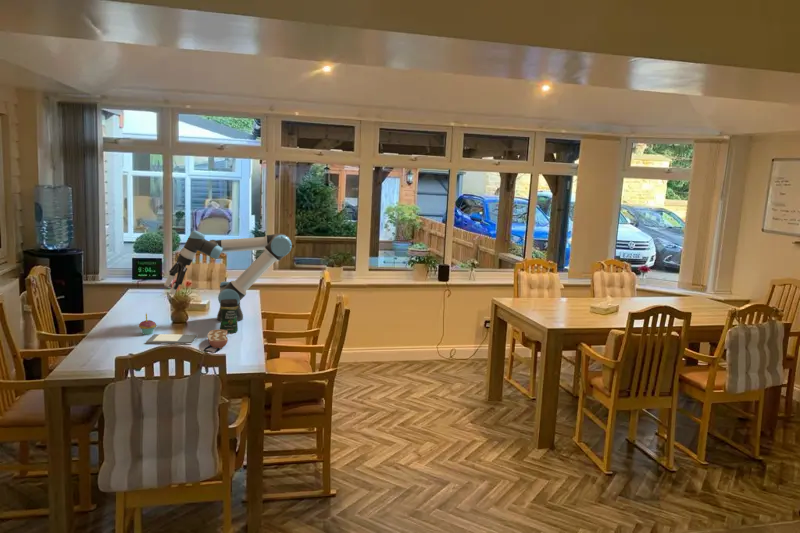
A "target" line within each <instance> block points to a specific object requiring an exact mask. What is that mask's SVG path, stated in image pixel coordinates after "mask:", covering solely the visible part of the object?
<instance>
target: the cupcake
mask: <svg viewBox="0 0 800 533" xmlns="http://www.w3.org/2000/svg"><path fill="white" fill-rule="evenodd" d="M138 327H139V328H140V330H141V332H142V334H143V335H152V334H153V332H154V331H155V328H156V327H157V323H156V322H155V321H153V320H150V319H148V314H147V313H145V320H143V321H140V323H139V324H138Z"/></svg>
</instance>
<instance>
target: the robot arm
mask: <svg viewBox="0 0 800 533" xmlns="http://www.w3.org/2000/svg"><path fill="white" fill-rule="evenodd" d="M205 237H206V236H205V234H204V233H201V232H200V231H197V230H192V231H191V232H190V234H189V236H188V238H187V240H186V242H185V243H184V246H183V247H182V248H181V251H180V254H179V255H178V256H177V260H176V262H175V263H174V265H173V266H172V267H171V269H170V270H169V271H168V272H169V273H168V274H169V275H168V276H167V278H166V280H165V282H164V284H163V285H164V286H165V287H167V288H168V287H170V285H171V283H172V282H173V279H174V278H175V277H176V279H175V281H174V282H173V284H172V287H171V289H170V290H169V292H168V293H169V294H171V295H173V296H175V294H176V292H177V290H178V288H179V287H180V286H182V284H183V281H184V280H185V279H184V278H185V276H186V272H187V271H188V267H187V266H190V265H191V264H192V262H193V259H194V258H195V256H196V255H197V252H199V253H202V254H204V255H206V256H209V257H210V258H213V259H215V260H218V259H219V257H220V256H221V253H231V252H247V251H249V252H250V251H260V250H261V251H262V253H261V254H260V255H259V256H258V257H257V258H256V259H255V260H253V262H252V263H251V264H250V265H249V266H248V267H247V268H246V269H245V270H244V271H242V273H241V274H240V275H239V276H238V277H237V278H236V279H235V280H230V281H221V282H220V283H219V294H218V297H217V298H218V303H219V305H220V304H221V300H223V299H236V300H237V303H238V309H237V322H239V321H242V320H244V314H243V311H242V308H241V301H242V299H243V298H245V296H246V295H247V291H248V290H249V288H251V286H252V285H254V284H255V282H256V281H257V280H259V279H260V278H261V277H262V275H263V274H264V273H265V272H267V271H268V269H269V268H270V267H272V266H273V264H274V263H276V262H280V261H281V260H282V259H284V257H286V256H287V255H288V254H290V252H291V250H292V247H293V246H292V245H293V244H292V243H293V242H292V240H291V239H290V237H289V236H288V235H287V234H285V233H281V232H279V233H275V234H266V235H265V236H260V237H246V238H245V237H243V238H231V239H230V238H229V239H210V240H207V239H205ZM263 250H264V251H263ZM176 274H177V276H176ZM216 320H217V321H219V322H221V308H220V307H219V309H218V312H217V314H216Z"/></svg>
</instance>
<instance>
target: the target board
mask: <svg viewBox="0 0 800 533" xmlns="http://www.w3.org/2000/svg"><path fill="white" fill-rule="evenodd" d="M197 337H198V335H197V334H181V333H180V334H179V333H177V334H173V333H172V334H165V333H164V334H163V333H162V334H160V333H159V334H157V333H154V334H153V335H151V336H150V337H149V338H148V339H147V340H146V341H145V344H146V345H162V344H161V343H168V344H167V345H176V344H175V343H184V344H183V345H186V344H185V343H193V342H194V341H195V340H196V339H195V338H197ZM194 339H195V340H194Z"/></svg>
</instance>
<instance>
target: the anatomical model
mask: <svg viewBox="0 0 800 533" xmlns="http://www.w3.org/2000/svg"><path fill="white" fill-rule="evenodd" d="M227 335H228V333H227V330H222V329H220V328H219V329H211V330H210V331H209V332H208V333H207V341H208V344H210V346H211V347H212V348H213V349H217V348H219V349H222V348H224V347H225V346H226V345H227V343H228V341H229V339H228V336H227Z"/></svg>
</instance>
